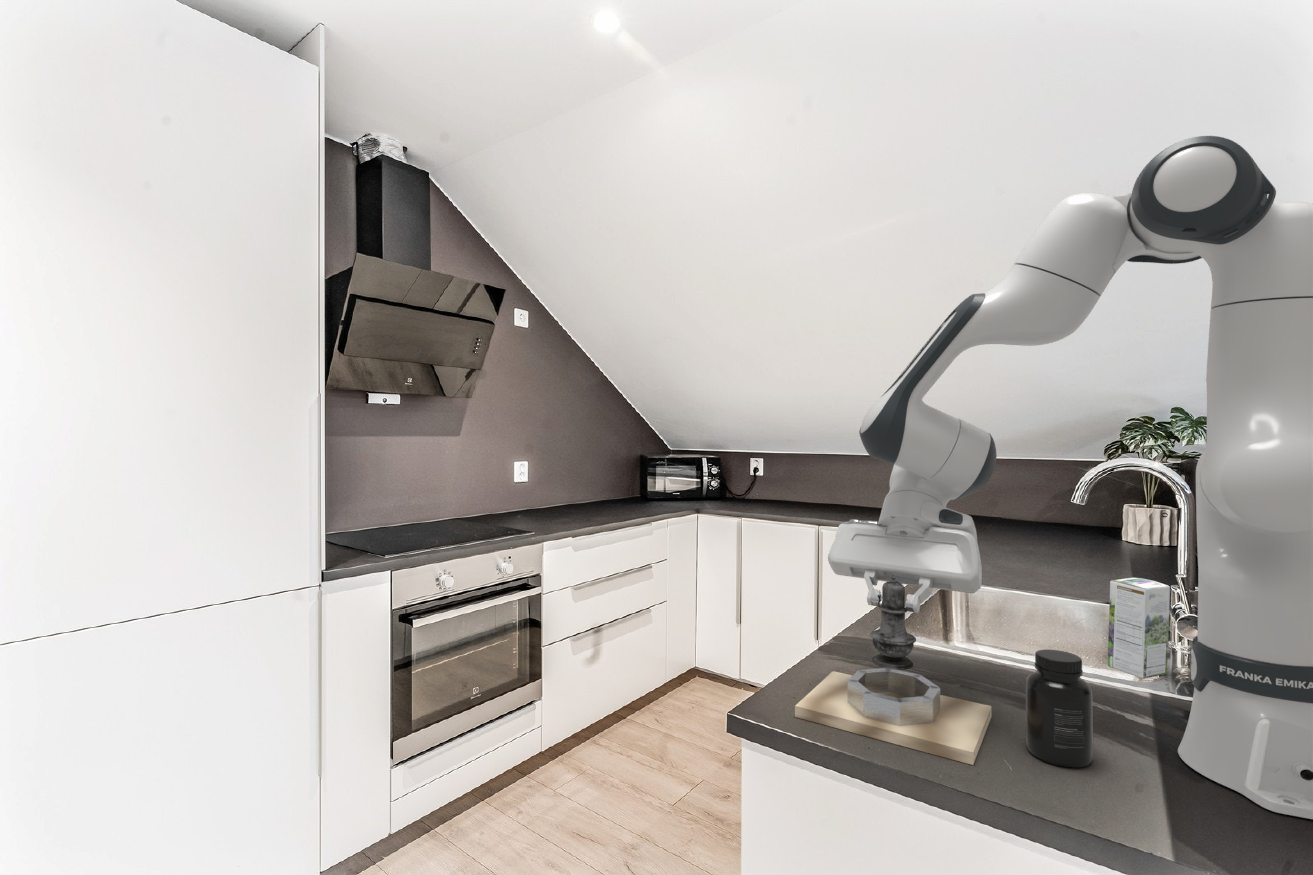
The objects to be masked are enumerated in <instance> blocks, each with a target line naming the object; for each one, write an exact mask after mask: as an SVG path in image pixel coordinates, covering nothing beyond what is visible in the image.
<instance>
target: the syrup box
mask: <svg viewBox="0 0 1313 875" xmlns="http://www.w3.org/2000/svg"><path fill="white" fill-rule="evenodd" d="M1170 593H1171V587H1170V586H1169V585H1168V584H1164V583H1161V582H1160V581H1159V582H1158V581H1156V580H1151V579H1146V578H1141V577H1128V578H1121V579H1112V580H1110V582H1109V604H1108V606H1109V610H1108V613H1109V614H1108V640H1107V641H1108V642H1107V666H1108V667H1109V668H1111V669H1114V670H1116V671H1119V672H1123V673H1124V674H1127V675H1132V676H1134V677H1137V678H1141V679H1142V680H1143V679H1149V678H1153V677H1158V676H1159V677H1160V676H1162V675H1163V676H1164V675H1166V674H1167V673H1168V657H1169V656H1168V652H1169V651H1168V650H1169V630H1170V629H1169V627H1170V626H1169V624H1170V620H1169V619H1170V600H1171V598H1170V596H1171V595H1170Z"/></svg>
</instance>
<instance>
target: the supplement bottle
mask: <svg viewBox="0 0 1313 875" xmlns="http://www.w3.org/2000/svg"><path fill="white" fill-rule="evenodd" d="M1034 658H1035V659H1034V660H1035V662H1034V669H1035V670H1036V671H1033V672H1031V673H1030V674H1028V676H1027V677H1026V679H1025V741H1026V747H1027V750H1028V751H1029V752H1030V753H1031V755H1033V756H1034V757H1036V759H1037V758H1038V759H1039V760H1042V761H1043V762H1046V763H1049V764H1052V765H1054V766H1055V765H1056V766H1060V767H1065V768H1084V767H1086V766H1088V765H1090V764H1091V763H1092V760H1093V753H1094V752H1093V747H1094V746H1093V745H1094V743H1093V742H1094V738H1093V734H1094V733H1093V729H1094V727H1093V713H1094V712H1093V711H1094V710H1093V690H1092V688H1091V686H1090V685H1089V683H1088V682H1087V681H1085V680H1084V679H1083V678H1082V676H1083V659H1082V658H1081V656H1079V655H1077V654H1075V653H1072V652H1068V651H1065V650H1060V649H1050V648H1049V649H1048V648H1047V649H1039V650H1037V651H1036V650H1035V654H1034Z"/></svg>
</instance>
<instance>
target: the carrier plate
mask: <svg viewBox="0 0 1313 875" xmlns="http://www.w3.org/2000/svg"><path fill="white" fill-rule="evenodd" d="M853 675H854V674H853ZM853 675H852V674H847V673H844V672H838V671H834V670H833V671H831V672H830V673H829V674H828V675H827V676H826V677H824V679H823V680H821V682H819V683H818V684H817V685H816V686H815V687H813V689H812V690H811V691H809V692H808V693H807V694H806V695H805V696H804V697H803V698H802V699H801V700H800V701H798V702H797V703H796V704H795V705H794V717H795V718H798V719H802V720H805V721H810V722H812V723H817V724H820V725H824V726H828V727H832V728H835V729H839V730H842V731H846V732H850V733H853V734H857V735H861V736H864V737H869V738H873V739H876V740H879V741H883V742H886V743H890V744H894V745H896V746H902V747H905V748H908V749H912V750H915V751H919V752H923V753H927V754H931V755H934V756H938V757H941V758H945V759H949V760H952V761H957V762H960V763H963V764H967V765H972V766H974V764H975V762H976V759H977V756H978V754H979V750H981V749H980V748H981V746H982V743H983V740H984V737H985V735H986V733H987V729H988V727H989V724H990V722H991V721H992V720H991V719H992V716H993V715H992V713H993V712H992V709H993V707H992V705H988V704H984V703H979V702H975V701H970V700H966V699H961V698H956V697H951V696H948V695H944V694H940V711H939V713H938V715H937V716H936V718H935V720H934V722H933V723H927V724H917V725H906V726H898V725H894V724H890V723H886V722H882V721H878V720H874V719H871V718H867V717H864V716H862V715H861V714H860V713H859V712H858V711H857V710H856V709H855V708H854V707H852V706H851V705H850V704H849V703H848V680H849V679H850V678H851V677H852V676H853ZM878 694H882V695H886V696H891V697H895V698H908V696H903V695H899V694H895V693H890V692H883V693H878Z"/></svg>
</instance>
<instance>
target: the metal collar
mask: <svg viewBox="0 0 1313 875" xmlns="http://www.w3.org/2000/svg"><path fill="white" fill-rule="evenodd" d="M883 692H890V693H895V694H899V695H903V696H908V698H895V697H891V696H886V695H882V694H878V693H883ZM940 695H941V687H940V686H938V685H937V684H936V683H934V682H932V681H931V680H930V679H928V678H926V677H924V676H923V675H922V674H918V673H915V672H909V671H906V670H893V669H887V668H883V667H879V668H869V669H857V671H855V673H853V676H852V677H851V678H850V679H849V680H848V703H849V704H850V705H851V706H852V707H854V708H855V709H856V710H857V711H858V712H859V713H860V714H861V715H862V716H864V717H867V718H871V719H874V720H878V721H882V722H886V723H890V724H894V725H898V726H906V725H917V724H927V723H933V722H934V720H935V718H936V716H937V715H938V713H939V711H940Z"/></svg>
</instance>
